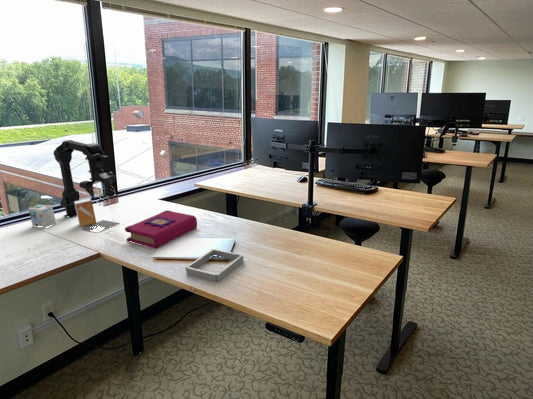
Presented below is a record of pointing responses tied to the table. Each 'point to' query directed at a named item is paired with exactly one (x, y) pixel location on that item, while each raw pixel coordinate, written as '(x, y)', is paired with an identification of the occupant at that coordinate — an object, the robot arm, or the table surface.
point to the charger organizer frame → (238, 260)
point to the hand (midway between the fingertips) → (100, 196)
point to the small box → (85, 212)
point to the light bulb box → (42, 215)
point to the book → (161, 228)
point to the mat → (100, 223)
